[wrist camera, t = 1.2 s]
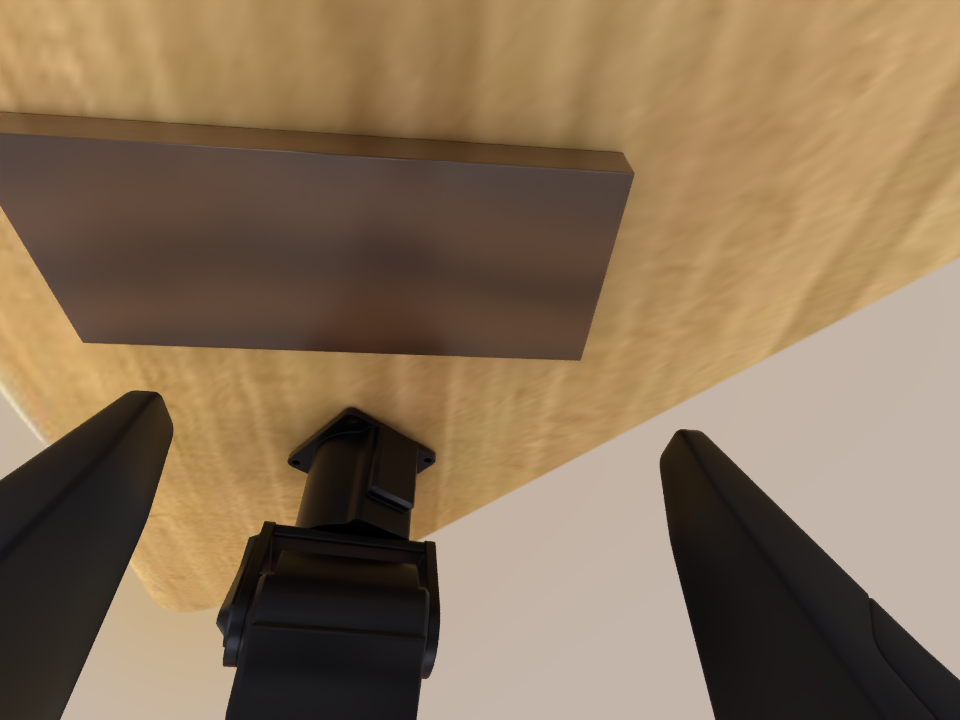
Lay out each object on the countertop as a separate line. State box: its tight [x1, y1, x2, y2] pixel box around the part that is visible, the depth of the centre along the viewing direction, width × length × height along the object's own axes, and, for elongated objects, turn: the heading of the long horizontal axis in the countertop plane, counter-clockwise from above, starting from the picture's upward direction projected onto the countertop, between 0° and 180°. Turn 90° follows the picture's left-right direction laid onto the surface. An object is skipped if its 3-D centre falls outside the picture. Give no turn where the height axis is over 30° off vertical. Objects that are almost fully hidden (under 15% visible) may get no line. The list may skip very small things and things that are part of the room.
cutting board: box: [0, 112, 634, 361], centre depth 21 cm, size 9×22×2 cm, turn 86°
